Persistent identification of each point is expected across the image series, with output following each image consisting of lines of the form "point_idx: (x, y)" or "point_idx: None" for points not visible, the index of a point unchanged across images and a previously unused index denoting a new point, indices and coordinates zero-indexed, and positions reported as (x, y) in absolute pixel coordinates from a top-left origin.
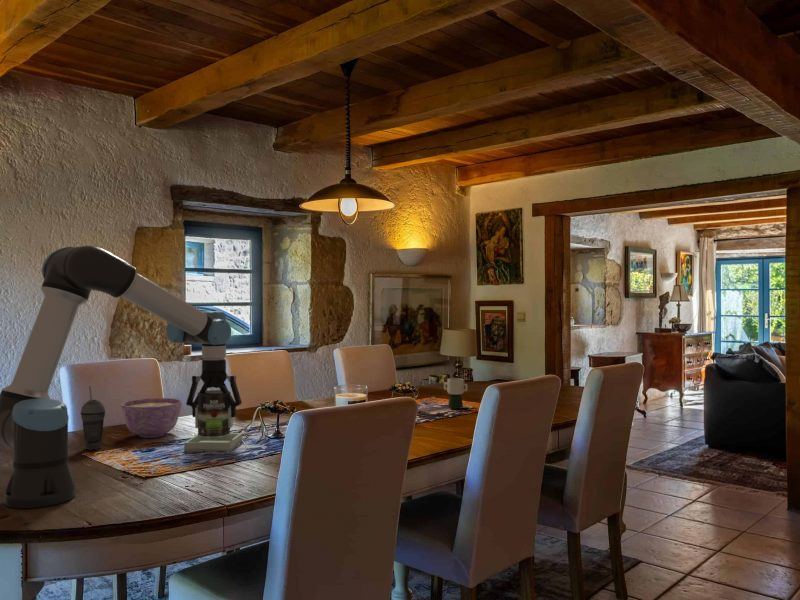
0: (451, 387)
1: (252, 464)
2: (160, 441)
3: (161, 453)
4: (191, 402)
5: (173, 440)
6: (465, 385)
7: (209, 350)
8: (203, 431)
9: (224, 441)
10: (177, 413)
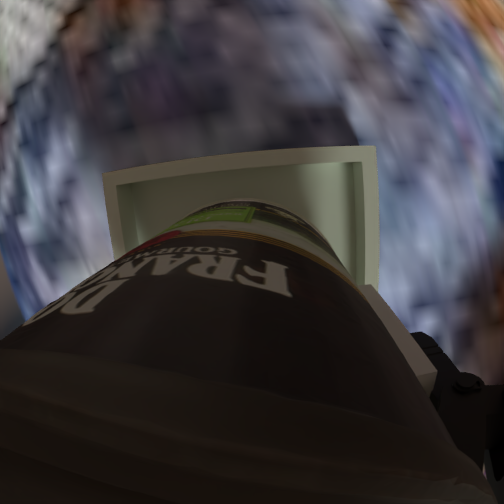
0: None
1: (14, 32)
2: (499, 333)
3: (445, 116)
4: (501, 413)
5: (462, 358)
6: None
7: None
8: (278, 211)
9: None
10: (485, 476)
